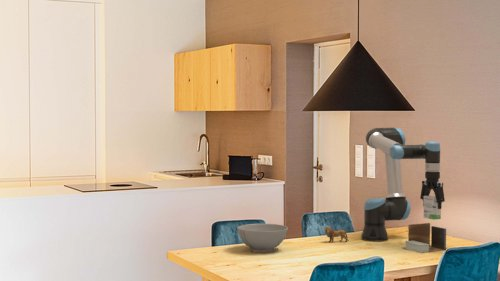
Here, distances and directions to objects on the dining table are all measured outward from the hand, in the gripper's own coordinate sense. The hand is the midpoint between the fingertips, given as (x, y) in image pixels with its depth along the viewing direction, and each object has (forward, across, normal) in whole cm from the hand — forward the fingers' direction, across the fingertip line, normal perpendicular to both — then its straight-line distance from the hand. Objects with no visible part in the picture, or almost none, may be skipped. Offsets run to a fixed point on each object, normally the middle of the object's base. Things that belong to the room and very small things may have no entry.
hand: (432, 214), depth 381 cm
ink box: (+3, 0, 0) cm, 3 cm away
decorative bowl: (+20, -44, -77) cm, 91 cm away
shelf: (+20, -3, -2) cm, 20 cm away
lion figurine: (+20, -46, -29) cm, 58 cm away
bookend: (+19, -2, +6) cm, 20 cm away
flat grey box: (+19, -2, -9) cm, 21 cm away
